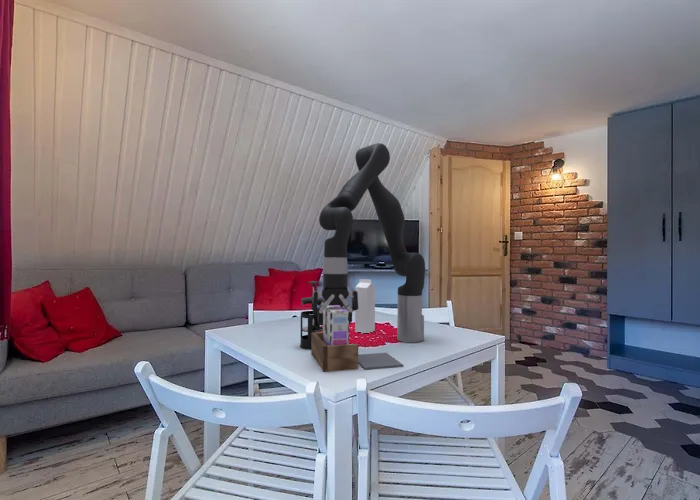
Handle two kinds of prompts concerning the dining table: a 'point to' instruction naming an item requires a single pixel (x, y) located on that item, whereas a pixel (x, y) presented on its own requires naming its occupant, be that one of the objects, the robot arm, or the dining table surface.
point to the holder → (333, 354)
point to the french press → (310, 321)
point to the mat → (377, 361)
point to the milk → (365, 307)
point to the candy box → (335, 325)
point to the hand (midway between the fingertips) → (334, 324)
